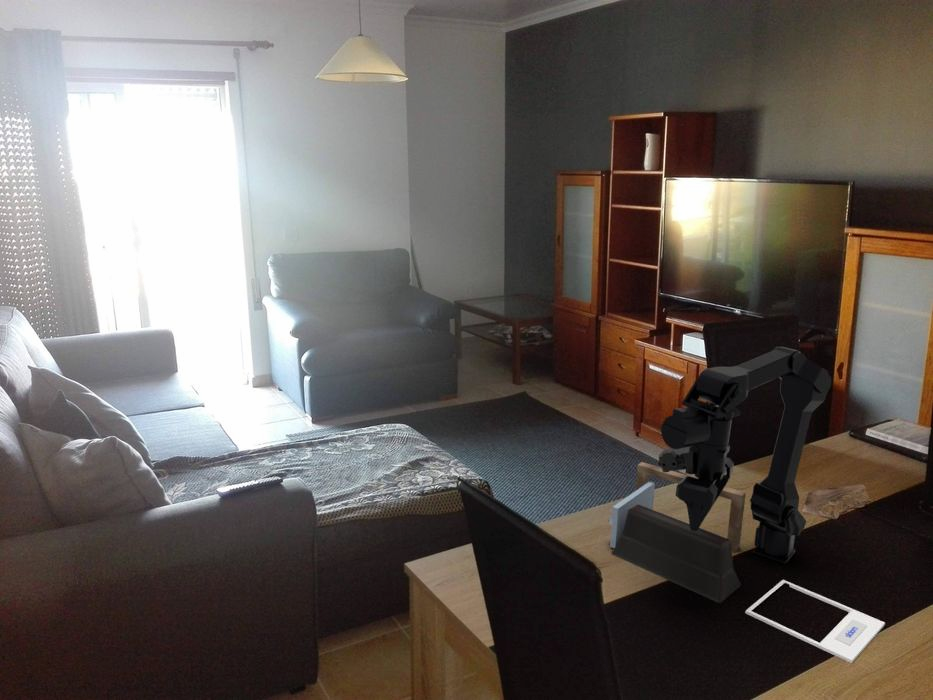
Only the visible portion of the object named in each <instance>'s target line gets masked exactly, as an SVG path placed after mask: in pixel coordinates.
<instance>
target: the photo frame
mask: <svg viewBox="0 0 933 700" xmlns="http://www.w3.org/2000/svg"><path fill="white" fill-rule="evenodd" d="M784 584H786V585H789V587H790V588H792V589H794V590H796V591H798V592H801V593H803V594H805V595H808V596H810V597H812V598H815V599H817V600H820V601H822V602H824V603H827V604H829V605H831V606H833V607H836V608H838V609H840V610H843V611H845V612H848V614H847V615H845V616H844V617H843V618H842V620H840V622H839V623H838V624H837V625H836V626H835V627H834V628H833V629H832V630H831V631H830V632H829V633H828V634H827V635H826V636H825V637H824V638H823V639H822V640H821V641H820V642H818V641H816V640H814V639H813V638H811V637H808V636H806V635H804V634H801V633H799V632H797V631H795V630H793V629H791V628H788V627H786V626H784V625H782V624H780V623H778V622H776V621H774V620H772V619H769V618H767V617H765V616H763V615H761V614H758V613H757V612H754V611H753V610H754V609H755V608H757V606H759V605H760V604H761V603H763V602H764V601H765V600H766V599H767V598H768V597H770V595H772V594H773V593H774V592H776V590H778V589H779V588H780V587H781V586H783V585H784ZM744 613H745V614H746V615H748V616H749V617H750V616H751V617H752V618H753V619H757V620H759V621H761V622H762V623H765V624H766V625H769V626H771V627H774V628H775V629H778V630H779V631H782V632H784V633H786V634H789V635H790V636H792V637H795V638H797V639H799V640H801V641H804V642H805V643H808V644H810V645H812V646H814V647H816V648H818V649H820V650H822V651H825V652H827V653H829V654H831V655H833V656H836V657H838V658H839V659H842V660H844V661H845V662H848V663H850V664H852V663H853V662H854V661H855V660H856V659H857V658H858V657H859V655H860V654H861V653H862V652H863V651H864V650H865V649H866V647H867V646H868V645H869V644H870V643H871V642H872V640H873V639H875V637H876V636H877V635H878V633H879V632H880V631H881V630H882V629H883V628H884V626H885V625H886V622H885V621H882V620H880V619H878V618H875V617H872V616H870V615H868V614H866V613H863V612H861V611H859V610H857V609H854V608H851V607H849V606H846V605H844V604H842V603H840V602H838V601H835V600H832V599H831V598H827V597H825V596H823V595H821V594H818V593H816V592H813V591H810V590H808V589H806V588H804V587H801V586H799V585H796V584H794V583H792V582H789V581H787V580H785V579H781V580H780V581H779V582H778V583H776V585H774V586H773V588H771V589H770V590H769V591H768V592H766V593H765V594H764V595H763V596H762V597H760V598H759V599H758V600H757V601H755V602H754V603H753V604H751V606H749V607H748V608H747V609H746V610H745V612H744Z"/></svg>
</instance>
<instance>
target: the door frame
mask: <svg viewBox="0 0 933 700" xmlns="http://www.w3.org/2000/svg"><path fill="white" fill-rule="evenodd" d="M636 467H637V468H636V470H637V471H636V480H635V481H636V482H635V483H636V484H635V491H636V490H638V489H639V488H641V487H642V486H644V485H645V484H646V483H648V482H649V481H650V476H652V477H655V478H659V479H662V480H665V481H669V482H671V483H675V484H677V485H678V484H679V482H680V481H681V480H682V479H684V478H685V477H687V476H690V477H692V475H689V474H684V473H681V472H679V471H678V472H677V471H669V472H663V471H662V467H661V466H657V465H654V464H649V463H648V462H647V463H646V462H645V461H644V462H643V461H641V462H639V463H638V464H637V466H636ZM746 494H747V493H746V492H744V491H741V490H738V489H734V488H731V487H727V486H725V487H724V489H723V490H722V492H721V493H720V495H719V497H721V498H724V499H727V500H730V509H729V520H728V527H727V528H728V529H727V537H726V538H727V539H729V540H730V541H731V546H732V552H734V553H736V552H737V551H738V550H739V549H740V546H741V545H740V544H741V535H742V527H743V521H744V512H745V503H746V502H745V501H746Z"/></svg>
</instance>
